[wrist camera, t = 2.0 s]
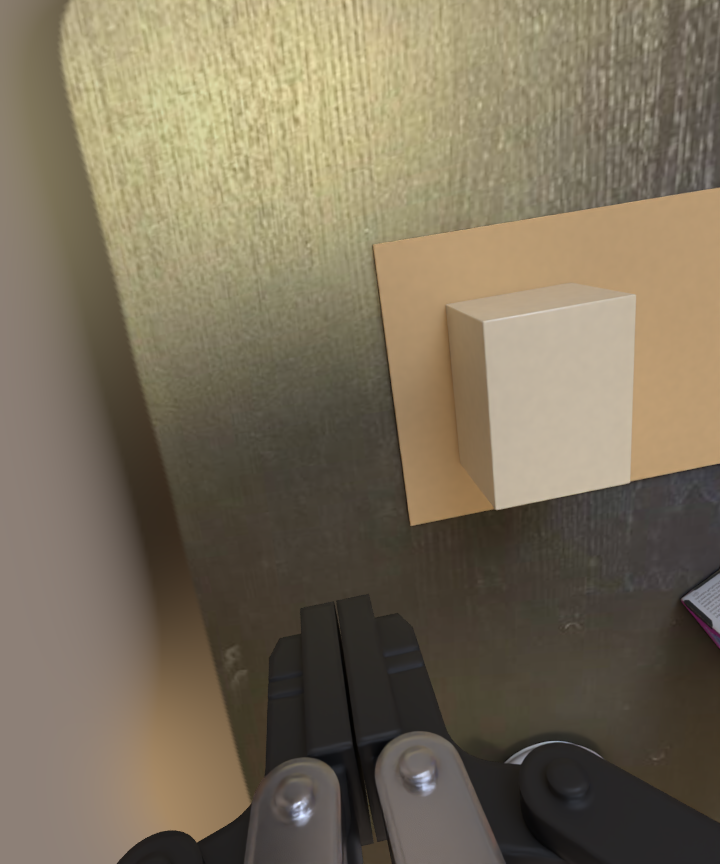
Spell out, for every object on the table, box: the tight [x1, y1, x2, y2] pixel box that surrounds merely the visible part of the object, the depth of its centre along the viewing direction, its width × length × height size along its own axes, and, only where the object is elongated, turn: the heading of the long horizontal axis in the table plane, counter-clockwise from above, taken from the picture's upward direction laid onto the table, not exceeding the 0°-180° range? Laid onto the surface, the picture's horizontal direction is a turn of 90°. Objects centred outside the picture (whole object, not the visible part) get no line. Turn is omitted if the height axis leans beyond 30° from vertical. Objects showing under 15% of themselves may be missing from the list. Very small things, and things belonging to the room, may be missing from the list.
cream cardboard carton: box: [446, 283, 636, 510], centre depth 24 cm, size 6×8×5 cm
